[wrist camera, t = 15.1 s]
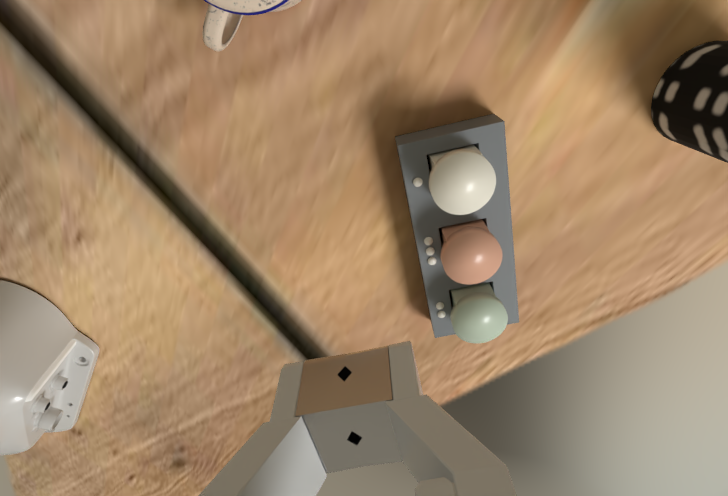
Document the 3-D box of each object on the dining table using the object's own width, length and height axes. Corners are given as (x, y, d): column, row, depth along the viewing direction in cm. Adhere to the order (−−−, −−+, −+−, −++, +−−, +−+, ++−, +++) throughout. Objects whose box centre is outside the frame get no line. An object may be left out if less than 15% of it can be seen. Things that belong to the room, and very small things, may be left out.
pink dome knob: (489, 251, 43) (504, 278, 39) (438, 262, 43) (447, 289, 39) (484, 204, 41) (500, 227, 36) (430, 216, 41) (438, 239, 37)
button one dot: (483, 186, 40) (498, 207, 35) (427, 198, 40) (435, 220, 36) (477, 131, 37) (493, 146, 33) (418, 144, 38) (426, 161, 34)
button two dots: (495, 307, 46) (509, 337, 42) (447, 316, 47) (456, 347, 42) (491, 267, 44) (505, 294, 40) (440, 277, 44) (449, 305, 40)
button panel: (509, 305, 47) (519, 323, 45) (430, 320, 48) (435, 338, 46) (493, 113, 38) (504, 121, 35) (394, 136, 39) (397, 146, 36)
